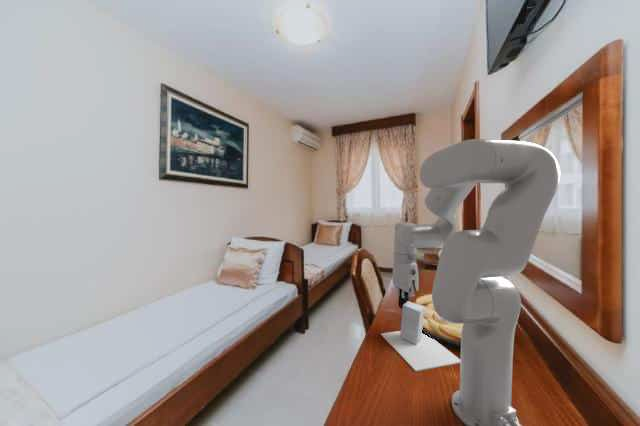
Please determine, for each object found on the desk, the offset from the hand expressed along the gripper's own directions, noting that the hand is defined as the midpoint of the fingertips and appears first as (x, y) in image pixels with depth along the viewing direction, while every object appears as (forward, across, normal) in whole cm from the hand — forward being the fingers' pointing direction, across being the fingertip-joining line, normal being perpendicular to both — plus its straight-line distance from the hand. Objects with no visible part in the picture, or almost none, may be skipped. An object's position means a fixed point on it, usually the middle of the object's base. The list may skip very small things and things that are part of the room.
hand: (403, 307), depth 89 cm
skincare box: (+9, -5, 0) cm, 10 cm away
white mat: (+10, -9, 0) cm, 13 cm away
